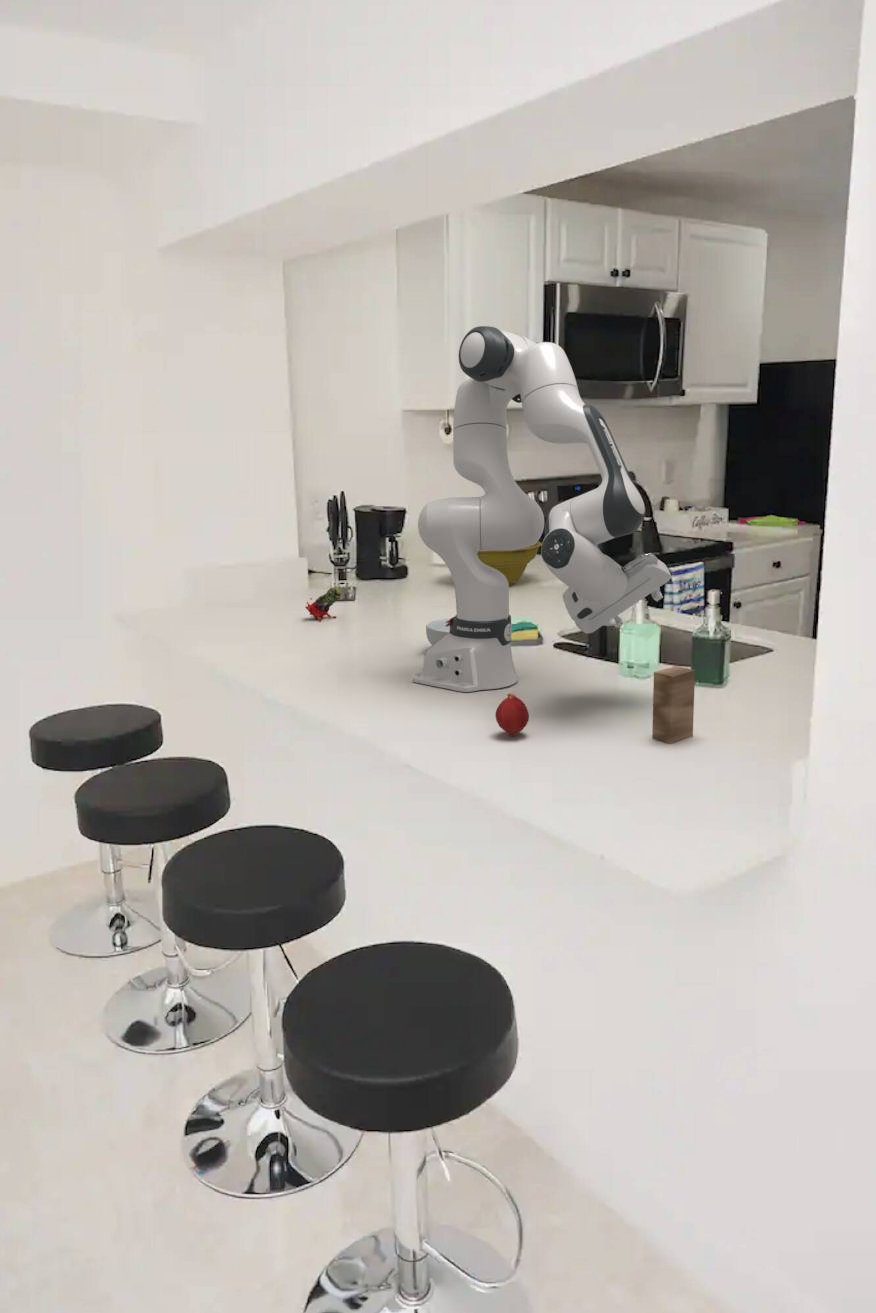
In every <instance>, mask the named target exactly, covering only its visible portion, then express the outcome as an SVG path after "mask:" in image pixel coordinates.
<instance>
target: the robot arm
mask: <svg viewBox="0 0 876 1313" xmlns="http://www.w3.org/2000/svg"><path fill="white" fill-rule="evenodd" d="M458 363H459V364H458V365H459V367H460V369H461V371H462V372H463V373H464V374H465V375H466V376H467V377H469V378H467V379H465V380H464V381H462V382H461V384H460V385H459V387H458V388H457V391H456V395H455V396H456V397H455V402H454V403H455V404H454V409H453V410H454V411H453V422H452V425H453V426H452V427H453V428H452V432H453V434H452V435H453V437H452V440H453V441H452V442H453V445H452V446H453V447H452V448H453V449H452V450H453V452H452V453H453V467H454V469H455V471H456V472H457V474H459V475H460V476H461V477H463V478H464V479H466V480H468V481H470V482H472V483H474V484H476V485H478V486H480V488H482V490H483V492H484V495H483V496H467V497H466V496H465V497H464V496H463V497H446V498H442V499H437V500H432V501H429V502H427V503H426V504H425V505H424V506H423V508H422V509H421V512H420V514H419V516H418V521H417V529H418V530H417V531H418V533H419V537H420V539H421V540H422V543H423V544H424V545H426V547H427V548H429V549H430V550H432V551H433V552H434V553H435V554H437V555H438V557H440V558H441V559H442V561H443V562H444V563H445V565H446V567H447V568H448V570H449V572H450V574H451V578H452V581H453V585H454V595H455V604H456V606H455V607H456V608H455V609H456V615H455V616H453V617H450V618H451V619H450V620H449V621H446V623H447V622H448V624H447V625H446V627H447V626H450V631H449V632H450V633H449V634H447V635H446V636H445V637H443V638H442V639H441V640H440V641H438V642H437V643H436V644H435V645H433V646H432V645H431V647H429V648H428V650H426V652H425V655H424V659H423V663H422V664H423V667H422V669H419V670H418V671H417V672H415V673H414V674H413V676H412V681H413V683H416V684H421V685H425V686H426V685H427V686H432V687H435V688H436V687H437V688H442V689H445V690H446V689H447V690H452V691H456V692H463V693H472V692H476V691H483V690H484V691H485V690H494V689H495V690H496V689H501V688H506V687H510V686H512V685H515V684H517V682H518V680H519V679H518V677H517V672H516V668H515V665H514V661H513V653H512V644H511V642H512V633H513V629H512V628H513V627H512V616H511V615H510V599H509V598H510V590H509V589H510V588H509V586H510V585H509V584H508V581H507V579H506V577H505V576H504V575H503V574H502V573H501V572H500V571H498V570H496V569H494V568H492V567H490V566H488V565H486V564H484V563H482V562H481V561H480V560H479V558H478V555H477V553H478V552H479V551H481V550H515V549H520V548H525V547H529V546H533V545H535V544H536V543H537V541H538V542H539V540H540V539H541V536H542V534H543V533H544V538H543V539H542V540H543V541H542V542H541V543H542V545H541V546H540V548H541V549H540V555H541V558H542V561H543V563H544V564H545V566H546V567H547V569H548V570H549V571H550V572H551V573H552V574H553V575H554V577H556V578H557V579H558V580H559V581H561V583H563V584H564V585H566V586H567V587H568V588H567V589H566V590H565V591H564V592H563V593H562V600H563V602H564V605H565V609H566V611H567V613H568V614H569V616H570V618H571V620H572V621H574V624H575V626H576V627H577V628H578V629H579V630H580V631H582V633H584V634H593V633H594V632H596V631H597V630H598V629H600V628H602V627H603V626H604V627H611V626H612V627H613V626H614V627H615V628H617V629H618V628H620V627H621V626H623V625H624V621H623V620H622V618H621V616H619V615H620V614H622V613H624V612H625V611H627V610H628V609H630V608H631V607H632V606H634V605H635V604H637V603H638V602H640V601H641V600H643V599H644V598H646V597H647V596H649V595H651V597H652V599H653V600H654V601H655V602H656V603H657V602H658V601H660V600H662V599H663V598H664V596H663V594H662V592H661V588H660V587H662V586H663V585H665V584H667V583H668V582H669V581H670V580H671V576H672V574H671V573H670V571H669V568H668V567H667V565H666V564H665V563H664V562H662V561H661V560H660V559H658V557H657V556H656V555H655V554H653V553H652V552H649V553H645V554H641V555H638V556H637V557H636V558H635V559H634V560H632V561H629V562H628V563H626V564H625V565H624V566H621V565H620V564H619V563H618V562H616V561H615V560H614V559H613V558H611V556H608V555H607V554H604V553H603V552H602V551H601V549H600V548H599V547H598V545H599V544H602V543H606V542H608V541H610V540H612V539H615V538H620V537H624V536H628V535H631V534H635V533H636V532H637V531H638V529H639V528H640V526H641V525H642V523H643V520H644V518H645V516H646V506H645V505H646V504H645V502H644V500H643V497H642V495H641V493H640V491H639V489H638V488H637V485H636V484H635V482H634V480H633V479H632V477H631V475H630V472H629V470H628V468H627V466H626V464H625V461H624V459H623V457H622V455H621V452H620V449H619V447H618V445H617V443H616V441H615V439H614V436H613V434H612V431H611V430H610V428H609V425H608V424H607V422H606V420H605V417H604V416H603V415H602V414H601V412H600V411H599V410H598V409H597V408H596V407H595V406H594V405H592V404H586V403H585V402H584V401H583V399H582V398H581V394H580V391H579V388H578V384H577V380H576V376H575V373H574V371H573V368H572V365H571V363H570V360H569V358H568V356H567V354H566V352H565V350H564V349H563V348H562V346H560V345H558V344H557V343H554V342H551V341H549V342H548V341H542V342H535V341H534V340H532V339H530V338H528V337H526V336H524V335H521V334H518V333H514V332H510V331H507V330H506V331H505V330H501V329H499V328H497V327H495V326H487V325H482V326H481V325H480V326H476V327H475V326H474V328H472V329H470V330H469V331H468V332H467V333H466V334H465V336H464V337H463V339H462V341H461V342H460V346H459V350H458ZM511 401H514V402H515V403H518V404H521V405H522V410H523V411H522V412H523V416H524V420H525V422H526V426H527V428H528V429H529V431H530V432H531V433H532V434H533V435H534V436H535V437H537V438H538V439H539V440H542V441H544V442H547V443H552V444H559V445H560V444H561V445H562V444H563V445H566V444H586V445H587V446H588V448H589V451H590V452H591V454H592V457H593V460H594V462H595V465H596V466H597V468H598V471H599V472H598V473H599V474H600V476H601V480H602V481H601V483H600V484H599V486H598V487H596V488H594V489H591V490H589V491H587V492H584V493H582V494H580V495H577V496H575V497H572V498H569V499H567V500H564V501H562V502H560V503H558V504H556V505H554V506H552V507H551V509H550V510H549V512H548V515H547V517H546V520H545V517H544V515H545V514H544V513H543V509H542V508H541V506H540V505H539V504H538V503H537V501H536V500H535V499H533V498H532V497H530V496H529V495H528V494H527V493H526V492H524V491H523V490H522V488H521V487H520V486H519V484H518V483H517V481H516V480H515V479H514V476H513V474H512V471H511V468H510V463H509V454H508V440H507V439H508V438H507V436H508V434H507V432H508V430H507V409H508V406H509V403H510V402H511Z"/></svg>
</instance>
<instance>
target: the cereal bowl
mask: <svg viewBox="0 0 876 1313" xmlns="http://www.w3.org/2000/svg"><path fill="white" fill-rule="evenodd" d="M451 618H452V617H446V618H438V619H434V620H431V621H429V622H427V623H426V624H425V633H426V638H427V641H428V642H429V643H430V645H431V647H432V646H433V645H435V644H436V643H437V642H438V641H440V640H441V639H442V638H443V637H445V636H446V635H447V634H449V633H450V632H449V631H450V626H447V627H446V625H447V624H448V622H447V623H446V621H449V620H450V619H451Z"/></svg>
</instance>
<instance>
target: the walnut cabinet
mask: <svg viewBox="0 0 876 1313" xmlns="http://www.w3.org/2000/svg"><path fill="white" fill-rule="evenodd" d="M695 677H696V670H695V669H693V668H688V667H683V666H679V665H675V666H671V667H667V668H664V669H660V670H657V671H654V672H653V693H652V695H653V697H652V698H653V699H652V729H651V730H652V733H651V734H652V735H651V736H652V737H651V739H653V740H656V741H659V742H662V743H666V744H669V745H672V744H676V743H679V742H680V741H684V740H687V739H689V738H692V737H693V736H694V717H695V716H694V715H695V714H694V713H695V712H694V711H695V687H696V686H695V684H696V682H695V679H696V678H695Z"/></svg>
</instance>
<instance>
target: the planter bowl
mask: <svg viewBox="0 0 876 1313" xmlns="http://www.w3.org/2000/svg"><path fill="white" fill-rule="evenodd" d="M542 543H543V542H541V541H539V540H538V541H537V543H536V544H535V545H533V546H529V547H525V548H520V549H515V550H481V551H479V552H478V553H477V555H478V558H479V560H480V561H481V562H482V563H484V564H486V565H488V566H490V567H492V568H494V569H496V570H498V571H500V572H501V573H502V574H503V575H504V576H505V577H506V579H507V581H508V584H509V586H512V585H514V584H516V583H517V582H518V581H519V580H521V577H522V576H523V574H524V573H525V570H526V568H527V566H528V564H529V563H530V562H531V561H533V560H534V559H535V558H536V556H537V555H538V551H539V550H540V549H539V548H540V547H541V546H542Z"/></svg>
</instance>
